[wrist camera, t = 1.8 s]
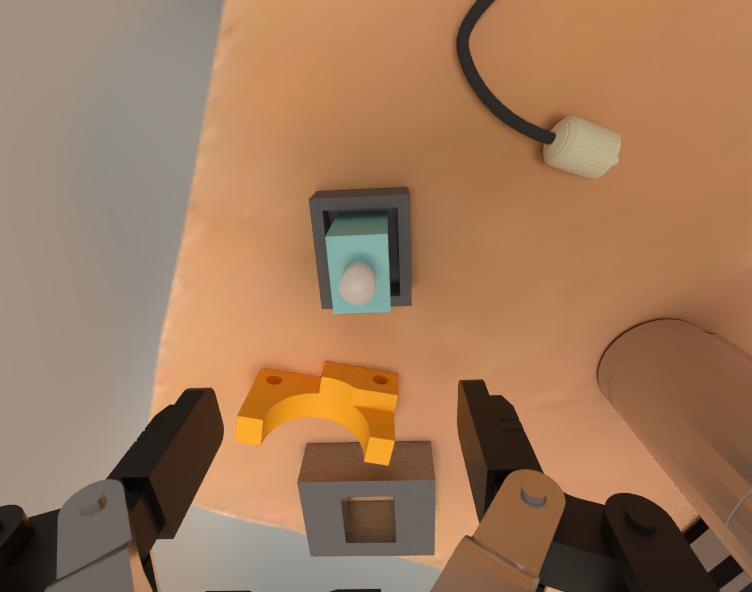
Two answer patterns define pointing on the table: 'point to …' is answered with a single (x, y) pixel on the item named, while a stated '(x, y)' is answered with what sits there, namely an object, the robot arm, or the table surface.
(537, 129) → the cable
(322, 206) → the grey rectangular frame
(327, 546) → the switch housing
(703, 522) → the game console
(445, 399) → the table surface
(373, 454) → the pipe clamp
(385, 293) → the plug
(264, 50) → the table surface
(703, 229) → the table surface
